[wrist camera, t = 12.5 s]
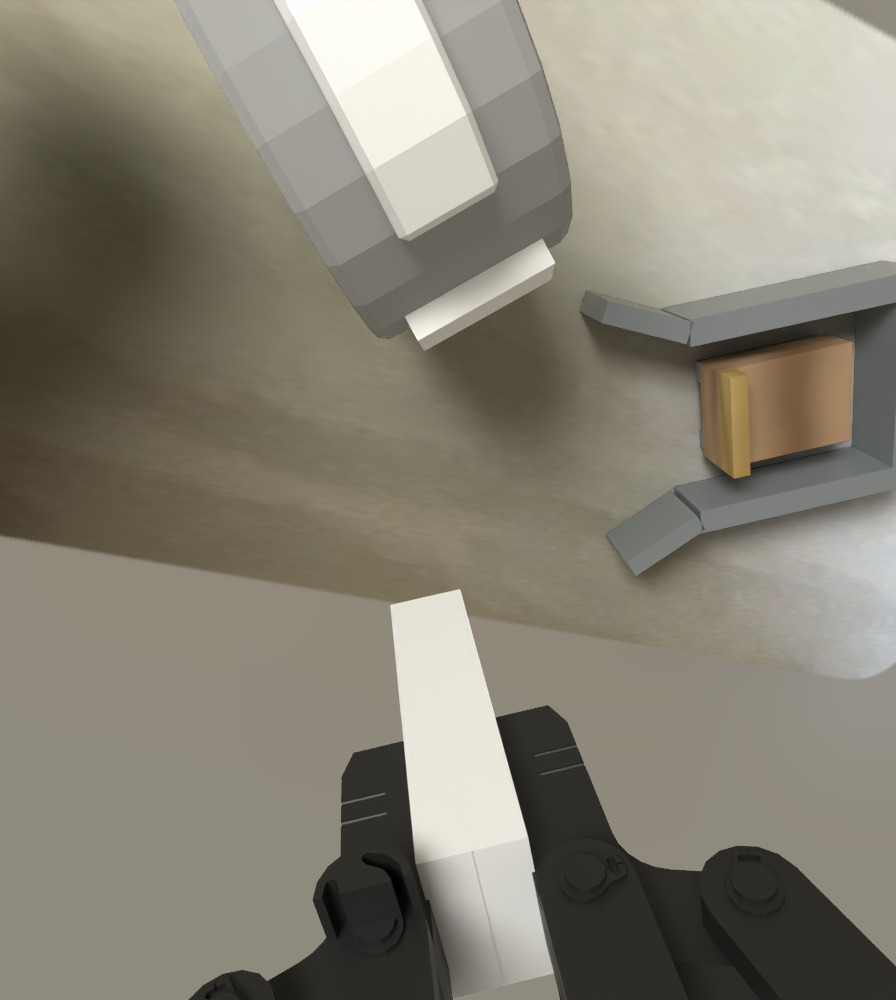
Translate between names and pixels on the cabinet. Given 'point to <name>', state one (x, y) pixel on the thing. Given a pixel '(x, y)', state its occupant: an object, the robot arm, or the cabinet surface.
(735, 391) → the tan block yellow end
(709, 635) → the cabinet surface
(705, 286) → the cabinet surface
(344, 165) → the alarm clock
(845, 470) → the bay
